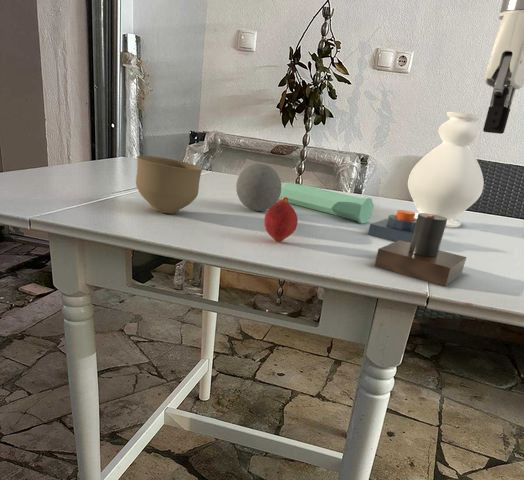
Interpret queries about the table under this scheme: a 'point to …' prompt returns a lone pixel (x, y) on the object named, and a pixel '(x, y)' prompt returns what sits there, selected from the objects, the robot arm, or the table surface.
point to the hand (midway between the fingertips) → (493, 132)
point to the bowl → (167, 183)
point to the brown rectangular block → (420, 263)
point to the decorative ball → (258, 187)
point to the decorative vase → (449, 171)
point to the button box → (393, 229)
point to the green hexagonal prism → (328, 201)
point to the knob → (427, 234)
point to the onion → (280, 220)
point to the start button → (405, 215)
